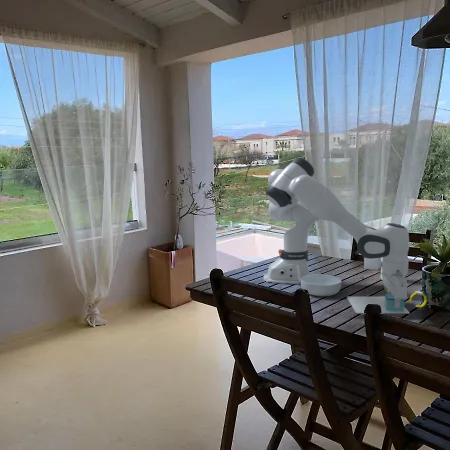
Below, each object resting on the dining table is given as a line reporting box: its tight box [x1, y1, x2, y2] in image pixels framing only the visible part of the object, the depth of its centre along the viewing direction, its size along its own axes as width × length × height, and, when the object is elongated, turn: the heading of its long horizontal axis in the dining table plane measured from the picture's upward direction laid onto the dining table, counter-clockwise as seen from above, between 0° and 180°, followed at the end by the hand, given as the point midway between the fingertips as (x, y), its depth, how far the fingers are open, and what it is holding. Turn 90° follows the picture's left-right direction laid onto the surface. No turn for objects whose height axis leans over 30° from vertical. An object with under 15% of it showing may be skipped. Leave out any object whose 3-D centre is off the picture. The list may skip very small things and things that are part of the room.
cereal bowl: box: [300, 273, 342, 297], centre depth 184 cm, size 17×17×7 cm
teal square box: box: [384, 293, 405, 311], centre depth 162 cm, size 6×6×4 cm
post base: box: [346, 296, 410, 314], centre depth 166 cm, size 19×19×5 cm
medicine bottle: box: [363, 257, 382, 271], centre depth 225 cm, size 7×7×12 cm
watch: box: [409, 290, 428, 308], centre depth 167 cm, size 6×3×6 cm, turn 87°
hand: (393, 303), depth 162 cm, fingers closed on teal square box, 6 cm apart
